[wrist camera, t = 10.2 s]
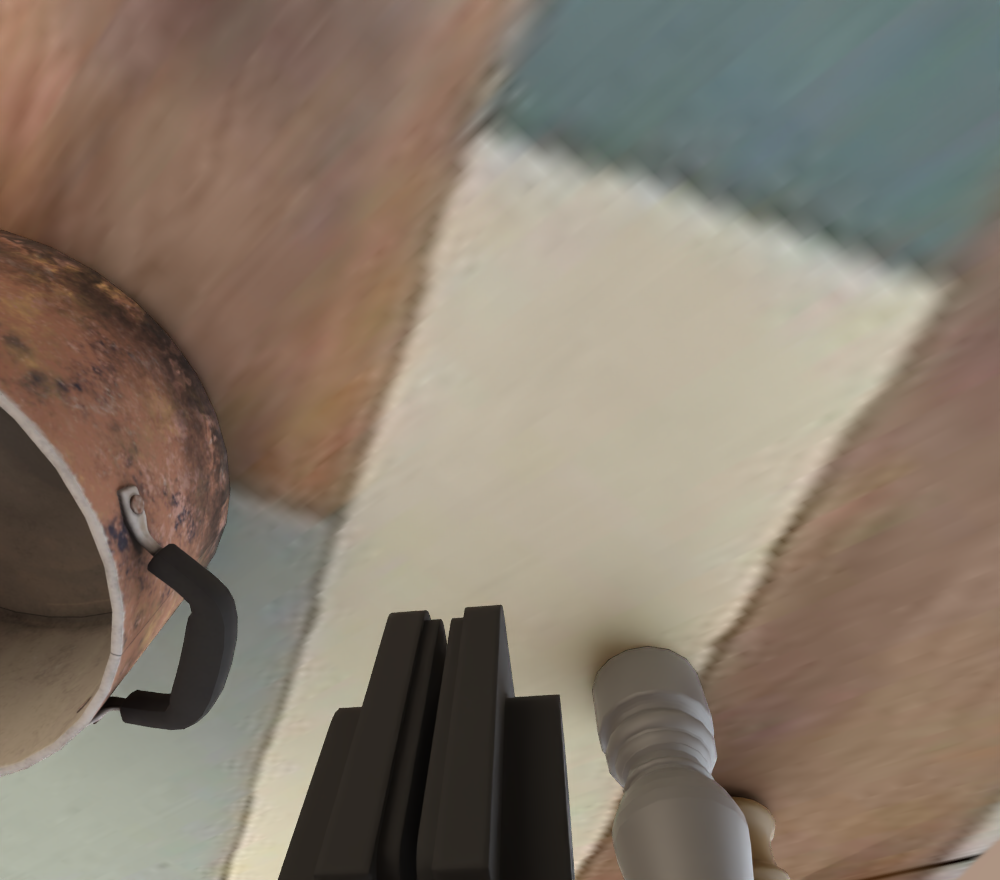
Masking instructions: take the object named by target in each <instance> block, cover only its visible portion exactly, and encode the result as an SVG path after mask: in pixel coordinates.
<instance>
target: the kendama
mask: <svg viewBox="0 0 1000 880" xmlns="http://www.w3.org/2000/svg"><path fill="white" fill-rule="evenodd" d="M731 798H732V799H733V800H734V801H735V802H736V804H737V805H738V806H739V808H740V809H741V811H742V812H743V814H744V816H745V819H746V822H747V825H748V828H749V836H750V843H751V853H752V865H753V877H754V880H791V878H790V877H789V876H788V874H787V873H786V872H785V871H784V870H782V869H781V868H779V867H778V866H777V864H776V862H775V860H774V857H773V854H772V850H771V844H770V842H771V840H772V839H773V837H774V831H775V822H776V821H775V819H774V817H773V816H772V814H771V813H770V811H769V810H768V808H766V807H765V806H763V805H761V804H760V803H758V802H757V801H754V800H751V799H747V798H742V797H731Z"/></svg>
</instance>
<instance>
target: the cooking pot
mask: <svg viewBox="0 0 1000 880" xmlns="http://www.w3.org/2000/svg"><path fill="white" fill-rule="evenodd" d="M229 495H230V481H229V470H228V459H227V451H226V448H225V444H224V441H223V437H222V434H221V430H220V427H219V423H218V420H217V416H216V413H215V411H214V409H213V407H212V405H211V403H210V401H209V399H208V397H207V395H206V393H205V391H204V388H203V386H202V384H201V382H200V380H199V378H198V376H197V374H196V373H195V372H194V370H193V369H192V367H191V366H190V365H189V363H188V362H187V360H186V359H185V358H184V356H183V355H182V353H181V352H180V351H179V349H178V348H177V346H176V345H175V344H174V342H173V341H172V339H171V338H170V337H169V336H168V335H167V334H166V333H165V332H164V331H163V330H162V329H161V328H160V326H159V325H158V324H157V323H156V322H155V321H154V320H153V319H152V318H151V317H150V316H149V315H148V314H147V313H146V312H145V311H144V310H143V309H142V308H141V307H140V306H139V305H138V304H137V303H136V302H135V301H133V300H132V299H131V298H130V297H128V296H127V295H126V294H124V293H123V292H122V291H120V290H119V289H118V288H116V287H115V286H114V285H112V284H111V283H110V282H108V281H107V280H106V279H105V278H103V277H102V276H101V275H99V274H98V273H97V272H95V271H93V270H92V269H90V268H88V267H86V266H84V265H82V264H81V263H79V262H77V261H75V260H73V259H72V258H70V257H68V256H66V255H64V254H62V253H61V252H59V251H57V250H55V249H53V248H52V247H49V246H46V245H43V244H40V243H38V242H35V241H32V240H29V239H26V238H24V237H21V236H18V235H15V234H12V233H10V232H7V231H4V230H0V777H1V776H5V775H8V774H11V773H14V772H17V771H20V770H24V769H27V768H29V767H30V766H32V765H34V764H36V763H38V762H39V761H41V760H43V759H45V758H47V757H48V756H50V755H52V754H54V753H55V752H57V751H59V750H61V749H62V748H63V747H64V746H65V745H66V744H67V743H68V742H70V741H71V740H72V739H73V738H74V737H75V736H76V735H77V734H78V733H79V732H80V731H82V730H83V729H84V728H85V727H86V726H88V725H90V724H92V723H93V724H96V723H97V722H98V721H99V720H100V719H101V718H102V717H103V716H104V715H105V714H106V713H107V712H109V711H112V710H120V713H121V717H122V720H123V721H124V722H125V723H129V724H135V725H141V726H146V727H152V728H160V729H168V730H177V729H185V728H187V727H189V726H191V725H193V724H195V723H197V722H198V721H199V720H200V719H202V718H203V717H204V716H205V715H206V714H207V713H208V712H209V710H210V709H211V708H212V706H213V705H214V704H215V702H216V700H217V699H218V697H219V695H220V693H221V692H222V690H223V688H224V685H225V682H226V679H227V676H228V673H229V670H230V667H231V664H232V660H233V655H234V650H235V645H236V641H237V619H238V617H237V611H236V606H235V602H234V599H233V597H232V595H231V593H230V591H229V590H228V589H227V588H226V587H225V586H224V585H223V583H222V582H221V581H220V580H219V579H218V578H216V577H215V576H214V575H213V574H212V573H210V572H209V571H208V570H207V569H206V567H207V565H208V564H209V562H210V561H211V559H212V557H213V556H214V554H215V552H216V549H217V547H218V544H219V541H220V538H221V536H222V533H223V530H224V528H225V525H226V520H227V512H228V504H229ZM184 599H185V600H186V601H187V602H188V603H189V604H190V607H191V611H192V613H191V615H190V616H189V618H188V622H187V626H186V632H185V638H184V643H183V648H182V652H181V657H180V661H179V665H178V669H177V673H176V677H175V680H174V684H173V687H172V692H171V694H162V693H155V692H148V691H141V690H136V691H134V692H132V693H131V694H130V695H129V696H128V697H127V698H119V697H110V695H111V694H112V693H113V691H114V690H115V689H116V687H117V686H118V685H119V683H120V682H121V681H122V680H123V678H124V677H125V676H126V674H127V673H128V672H129V670H130V669H131V668H132V666H133V665H134V664H135V663H136V661H137V660H138V659H139V657H140V656H141V655H142V653H143V652H144V651H145V649H146V648H147V647H148V645H149V644H150V643H151V642H152V640H153V639H154V638H155V636H156V635H157V634H158V632H159V631H160V630H161V628H162V627H163V626H164V625H165V623H166V622H167V621H168V619H169V618H170V617H171V615H172V614H173V613H174V611H175V610H176V609H177V607H178V606H179V605H180V604H181V602H182V601H183V600H184Z"/></svg>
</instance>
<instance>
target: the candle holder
mask: <svg viewBox="0 0 1000 880" xmlns="http://www.w3.org/2000/svg"><path fill="white" fill-rule="evenodd" d="M592 692H593V699H594V707H595V714H596V722H597V730H598V735H599V740H600V744H601V748H602V751H603V752H604V753H605V755H606V759H607V763H608V768H609V772H610V774H611V775H612V776H613V777H614V778H615V779H616V781H617V782H618V783H619V784H620V785H621V786H622V787H623V788H624V790H623V793H624V795H623V797H622V799H621V801H620V804H619V806H618V809H617V812H616V816H615V819H614V822H613V829H612V838H613V845H614V849H615V853H616V857H617V861H618V865H619V867H620V870H621V872H622V875H623V878H624V880H754V877H753V865H752V853H751V843H750V836H749V828H748V825H747V822H746V819H745V816H744V814H743V812H742V811H741V809H740V808H739V806H738V805H737V804H736V802H735V801H734V800H733V799H732V798H731V796H730V795H729V794H728V793H727V791H726V790H725V789H724V788H723V787H722V786H720V785H719V784H718V783H717V782H716V781H715V780H714V778H713V777H712V775H711V773H712V770H713V767H714V765H715V762H716V760H717V753H716V747H715V740H714V737H713V736H714V728H713V722H712V716H711V713H710V710H709V707H708V704H707V701H706V698H705V695H704V692H703V689H702V686H701V683H700V680H699V677H698V674H697V672H696V671H695V670H694V668H693V667H692V666H691V664H690V663H689V662H688V660H687V659H685V658H684V657H682V656H680V655H678V654H676V653H674V652H673V651H671V650H668V649H661V648H655V647H642V648H636V649H630V650H626V651H624V652H622V653H621V654H619V655H617V656H615V657H613V658H611V659H609V660H608V661H607V662H606V664H605V665H604V666H603V667H602V668H601V669H600V670H599V672H598V673H597V674H596V678H595V682H594V685H593V689H592Z"/></svg>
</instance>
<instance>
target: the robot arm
mask: <svg viewBox="0 0 1000 880" xmlns="http://www.w3.org/2000/svg"><path fill="white" fill-rule="evenodd" d="M278 880H575V875H574V861H573V847H572V833H571V820H570V806H569V792H568V779H567V767H566V755H565V744H564V733H563V723H562V713H561V703H560V695H543V696H528V697H515V695H514V687H513V679H512V672H511V664H510V656H509V649H508V641H507V633H506V626H505V618H504V611H503V607H502V605H493V606H479V607H466V608H465V611H464V618H452V620H451V624H450V631H449V637H448V644H447V641H446V635H445V629H444V624H443V621H442V620H441V619H437V620H431V618H430V615H429V612H428V611H427V610H424V611H410V612H397V613H391V614H389V617H388V619H387V623H386V626H385V630H384V633H383V636H382V640H381V643H380V647H379V650H378V654H377V657H376V661H375V664H374V667H373V671H372V674H371V678H370V681H369V685H368V688H367V692H366V695H365V698H364V702H363V705H362V707H353V708H339V709H338V710H337V711H336V712H335V714H334V716H333V719H332V721H331V723H330V726H329V729H328V732H327V735H326V738H325V741H324V744H323V747H322V750H321V753H320V756H319V759H318V762H317V765H316V768H315V771H314V774H313V777H312V780H311V783H310V786H309V789H308V792H307V795H306V798H305V801H304V804H303V807H302V809H301V812H300V815H299V818H298V821H297V824H296V827H295V830H294V833H293V836H292V839H291V842H290V845H289V848H288V851H287V854H286V857H285V860H284V863H283V866H282V869H281V872H280V875H279V878H278Z"/></svg>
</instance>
